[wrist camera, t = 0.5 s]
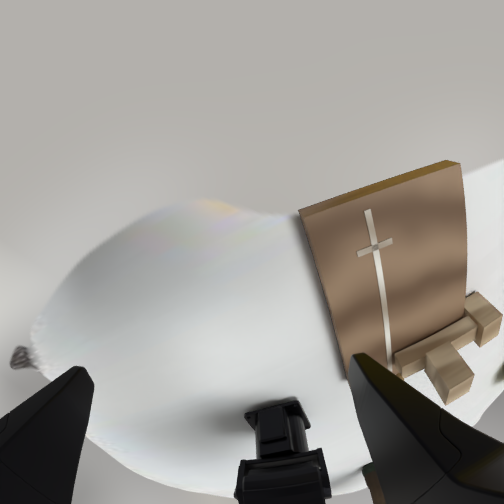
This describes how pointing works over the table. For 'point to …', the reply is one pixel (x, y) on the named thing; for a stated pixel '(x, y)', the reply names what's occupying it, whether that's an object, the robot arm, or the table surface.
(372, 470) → the potato masher grenade
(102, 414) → the table surface
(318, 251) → the board
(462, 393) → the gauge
